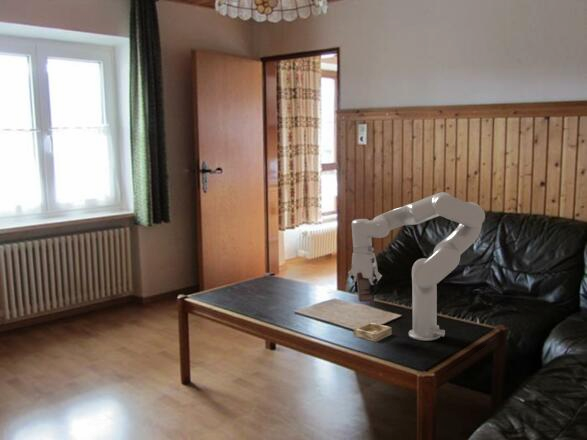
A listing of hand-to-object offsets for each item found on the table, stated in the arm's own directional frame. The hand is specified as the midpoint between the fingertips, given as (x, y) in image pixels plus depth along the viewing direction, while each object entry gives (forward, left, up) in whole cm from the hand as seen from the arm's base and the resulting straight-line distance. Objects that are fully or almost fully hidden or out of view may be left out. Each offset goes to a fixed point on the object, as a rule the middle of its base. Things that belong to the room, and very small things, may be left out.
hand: (365, 292), depth 246 cm
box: (0, 0, -3) cm, 3 cm away
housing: (-2, -1, -18) cm, 18 cm away
